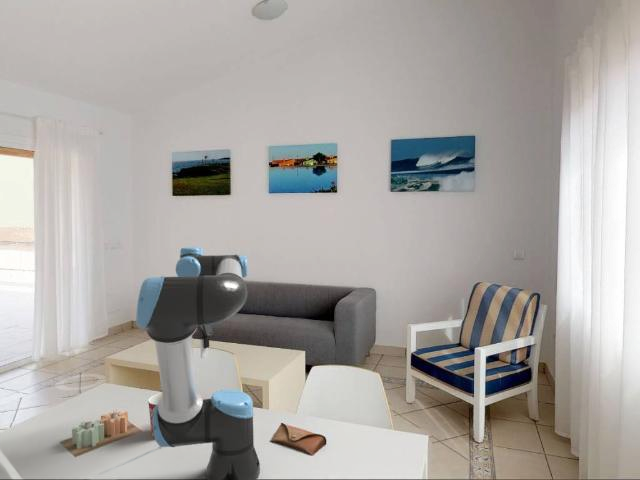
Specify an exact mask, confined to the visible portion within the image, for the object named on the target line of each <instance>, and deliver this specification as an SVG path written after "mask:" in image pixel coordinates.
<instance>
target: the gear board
mask: <svg viewBox="0 0 640 480" xmlns="http://www.w3.org/2000/svg"><path fill="white" fill-rule="evenodd" d="M112 413H113V412H112ZM117 417H118V413H113V414H111V419H113V418H117ZM85 422H86V423H85V424H84V426H85V429H89V428H91V427H92V423H91V422H92V421H91V422H90V421H85ZM141 432H143V430H142V429H141V428H139V427H138V426H136V425H134V424H133V423H131V422H130V421H129V420H128V426H127V432H125V433H124V432H121V433H120V434H116V435H115V436H114V437H111V435H109V436H107V435H104V440H99V441H98V443H96V446H94V447H92V446H91V445H90V446H87V447H85V446H83V447H82V448H80V449H77V444H72V437H70V438H66V439H65V440H62V441H59V443H60V444H61V445H62V446H63V447H64V448H66V450H67V451H69V453H71V454H72V456H73V457H75V458H76V457H79V456H82V455H84V454H86V453H89V452H92V451H94V450H97V449H100V448H102V447H104V446H107V445H111V444H112V443H115V442H117V441H120V440H122V439H125V438H128V437H130V436H133V435H135V434H138V433H141Z"/></svg>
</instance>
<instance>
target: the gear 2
mask: <svg viewBox="0 0 640 480" xmlns="http://www.w3.org/2000/svg"><path fill="white" fill-rule="evenodd" d="M113 413H118V417H117V418H113V419H111V414H113ZM128 413H129V412H128V411H123V412H121V411H117V410H113V412H109V413H107V414H101V415H100V419H99V424H103V423H104V435H107V436H109V435H111V437H114V436H115V435H116V434H120V433H121V432H124V433H125V432H127V426H128V421H129V419H128V418H129V417H128V416H129V414H128Z"/></svg>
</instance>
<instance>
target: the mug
mask: <svg viewBox="0 0 640 480" xmlns="http://www.w3.org/2000/svg"><path fill="white" fill-rule="evenodd" d="M162 397H163V396H162V392H160V393H157V394H154V395H152V396H150V397H149V398H148V399H147V402H148V410H149V422H150V431H151V432H150V434H151V437H152V438H154V439H155V437H154V432H153V429H154V427H153V413H154V409H155V406H156V405H157V404H158V403H159V402H160V400H161V399H162Z"/></svg>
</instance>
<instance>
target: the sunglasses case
mask: <svg viewBox="0 0 640 480" xmlns="http://www.w3.org/2000/svg"><path fill="white" fill-rule="evenodd" d="M268 442H271V443H275V444H278V445H281V446H285V447H287V448H291V449H294V450H296V451H300V452H302V453H305V454H308V455H310V456H315V455H316V453H318V452H319V451H320V450H322V449H323V447H325V446H326V445H327V438H326V436H324V435H323V434H320V433H315V432H311V431H308V430H306V429H303V428H300V427H296V426H293V425H292V426H291V425H288V424H286V423H284V422H281V423H280V425H279V426H278V428H277V429H276V431H275V433H274V434H273V435H272V437H271V439H270V440H268Z"/></svg>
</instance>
